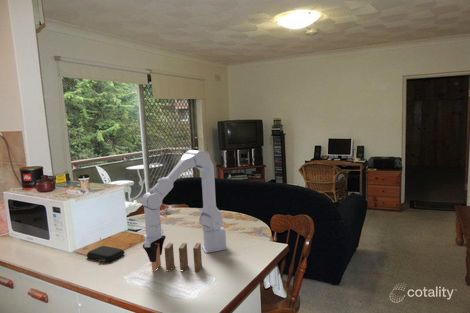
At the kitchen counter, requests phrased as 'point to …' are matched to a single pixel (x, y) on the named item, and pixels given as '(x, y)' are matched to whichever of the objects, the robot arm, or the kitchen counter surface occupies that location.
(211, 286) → the kitchen counter surface
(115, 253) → the carrying case or bag
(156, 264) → the end domino
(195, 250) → the domino
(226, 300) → the kitchen counter surface
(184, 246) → the domino
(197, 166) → the robot arm
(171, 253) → the domino
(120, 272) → the kitchen counter surface
